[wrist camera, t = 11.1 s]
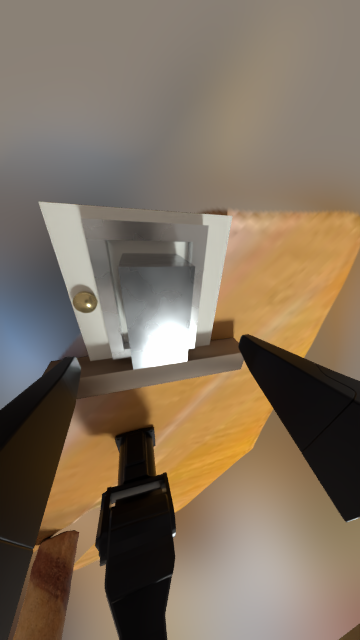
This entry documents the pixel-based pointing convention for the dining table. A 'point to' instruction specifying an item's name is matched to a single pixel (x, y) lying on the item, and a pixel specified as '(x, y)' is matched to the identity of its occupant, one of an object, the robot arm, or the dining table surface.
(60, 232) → the mini door model
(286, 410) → the robot arm
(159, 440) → the dining table surface
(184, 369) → the brown wooden bar
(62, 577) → the wafer roll
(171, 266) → the block
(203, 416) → the dining table surface
